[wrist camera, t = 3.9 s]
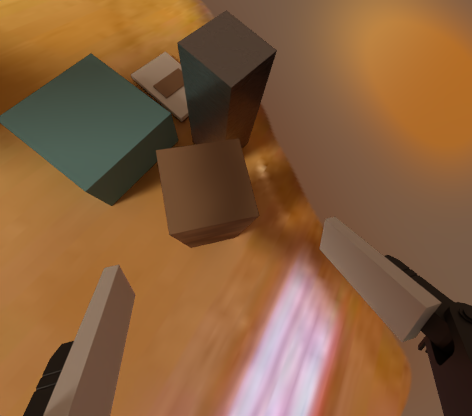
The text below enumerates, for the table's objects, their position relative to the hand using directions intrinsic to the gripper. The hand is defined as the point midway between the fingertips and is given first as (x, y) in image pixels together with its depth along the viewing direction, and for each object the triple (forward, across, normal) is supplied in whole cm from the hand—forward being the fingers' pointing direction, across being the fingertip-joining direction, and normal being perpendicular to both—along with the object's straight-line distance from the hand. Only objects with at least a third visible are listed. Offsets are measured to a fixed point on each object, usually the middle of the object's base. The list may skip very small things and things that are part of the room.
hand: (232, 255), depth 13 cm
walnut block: (+10, -1, -4) cm, 11 cm away
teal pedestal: (+18, -10, +4) cm, 21 cm away
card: (+23, -2, +10) cm, 25 cm away
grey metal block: (+17, +3, +3) cm, 17 cm away
